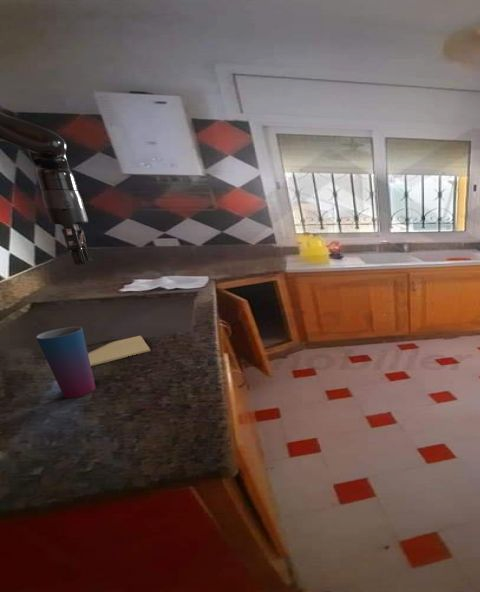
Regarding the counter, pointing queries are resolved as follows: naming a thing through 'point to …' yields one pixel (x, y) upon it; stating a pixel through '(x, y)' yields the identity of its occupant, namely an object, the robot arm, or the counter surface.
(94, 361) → the mat
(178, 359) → the counter surface
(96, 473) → the counter surface
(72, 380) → the cup
